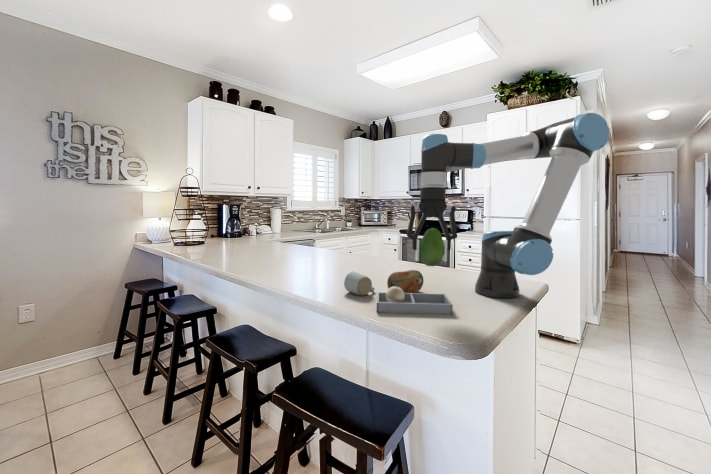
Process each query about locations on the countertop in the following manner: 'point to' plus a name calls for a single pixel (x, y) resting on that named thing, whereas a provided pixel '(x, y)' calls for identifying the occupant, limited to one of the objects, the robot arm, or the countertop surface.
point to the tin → (406, 281)
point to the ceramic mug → (358, 284)
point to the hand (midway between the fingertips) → (430, 260)
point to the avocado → (431, 247)
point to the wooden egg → (395, 295)
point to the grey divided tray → (416, 304)
